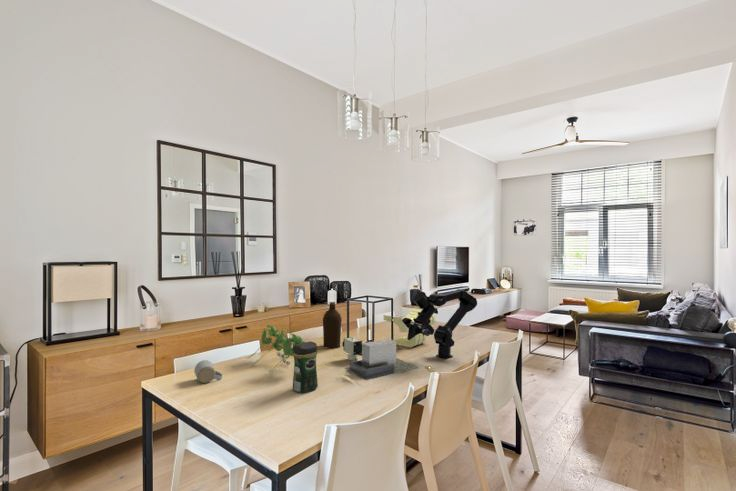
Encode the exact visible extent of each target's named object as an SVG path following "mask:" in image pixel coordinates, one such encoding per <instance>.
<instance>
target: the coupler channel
mask: <svg viewBox="0 0 736 491" xmlns="http://www.w3.org/2000/svg"><path fill="white" fill-rule="evenodd" d="M344 369H345V370H347V371H349V372H351V373H353V374H354V375H356V376H358V377H359V378H361V379H363V381H364V380H365V381H369V380H374V379H377V378H381V377H386V376H390V375H395V374H399V373H403V372H407V371H413V370H417V369H420V367H419V366H416V365H414V364H411V363H409V362H408V361H405V360H403V359H400V358H398V357H396V368H394V364H388V365H384V366H379V367H374V368H369V369H365V368H364V367H362V359H360V360H357V361H356V360H354V361H350V362H349V366H348V367H345V368H344Z"/></svg>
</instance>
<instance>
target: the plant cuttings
mask: <svg viewBox="0 0 736 491" xmlns="http://www.w3.org/2000/svg"><path fill="white" fill-rule="evenodd" d="M269 328H270V329H269ZM283 328H284V327H283V326H282V327H280V326H277V328H276V327H275V326H274V325H270V324H267V327H266V328H264V329H263V332H262V333H261V345H268V346H269V345H270V344H271V346H270V348H269V347H268V346H267V350H268V352H271V351H272V350H276V351H277V352H276V356H277V357H279V358H280V361H279V362H278V363H277V364H276V365H275V366H274V367H273V368H271V370H270V371H268V373H270V374H272V373H273V372H274V371H275V370H276V369H277V367H278V366H279V365H280V364H281V363H283V364H285V365H286V366H289V365H291V361H289V360H288V361H287V360H286V359H289V358H290V356H291V357H292V356H293V346H294V345H295V344H300V343H304V342H306V341H305V340H303V338H302V337H301V336H300V335H297V334H296V333H292V332H291V330H290V329H286V330H284V329H283ZM279 330H280V331H281V332H279ZM267 332H268V334H267ZM278 332H279V333H278ZM287 333H289V334H290V335H291V337H290V336H289V335H288V334H287ZM267 335H268V336H269V337H266V336H267ZM271 336H272V337H271ZM273 337H274V338H275V339H274V342H273ZM260 348H262V346H260V347H259V348H258V349H257V350H256V351H255V352H254V353H252V354H251V355H250V356H247V357H246V359H249V358H251V357H253V356H254V355H255V354H256V353H257V352H258V351H259V350H260ZM282 350H283V353H282V354H281V352H280V351H282ZM264 356H265V354H263V355H262V356H261V357H260V358H259V359H258V360H256V361H255V363H253V364H252V366H254V365H255V364H257V363H258V361H260V360H261V359H262V358H263V357H264ZM252 366H251V367H252Z"/></svg>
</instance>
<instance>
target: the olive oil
mask: <svg viewBox="0 0 736 491" xmlns="http://www.w3.org/2000/svg"><path fill="white" fill-rule="evenodd" d="M342 322H343V321H342V315H341V314H340V312H338V310H337V309H336V302H335V301H330V302H329V309H328V310H327V311H326V312H325V313H324V314H323V318H322V331H323V332H322V335H323V336H322V337H323V347H324V348H325V349H338V348H340V347H341V335H342V334H341V333H342Z"/></svg>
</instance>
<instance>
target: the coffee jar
mask: <svg viewBox="0 0 736 491" xmlns="http://www.w3.org/2000/svg"><path fill="white" fill-rule="evenodd" d="M292 347H293V359H294V360H293V362H294V366H293V377H292V390H293V391H294V392H295V393H302V394H304V393H308V392H311V391H314V390H316V389H317V388H318V373H317V355H318V345H317V343H316V342H314V341H311V340H310V341H305V342H304V343H300V344H295V345H294V346H293V345H292Z"/></svg>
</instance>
